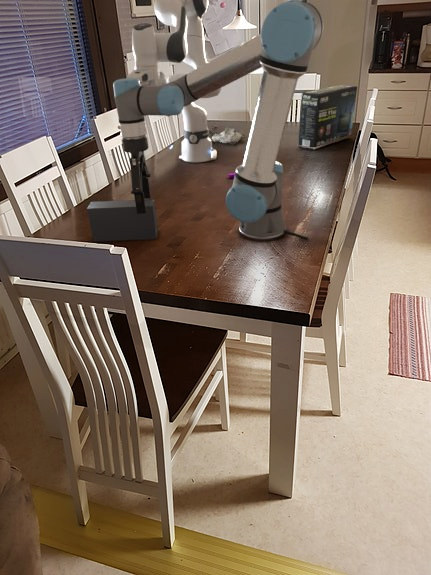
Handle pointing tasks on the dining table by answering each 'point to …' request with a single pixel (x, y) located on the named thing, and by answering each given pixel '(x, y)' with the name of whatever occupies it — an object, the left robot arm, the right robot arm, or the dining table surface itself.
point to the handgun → (231, 175)
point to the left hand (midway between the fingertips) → (151, 113)
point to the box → (122, 221)
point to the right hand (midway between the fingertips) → (144, 205)
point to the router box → (326, 115)
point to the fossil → (228, 136)
